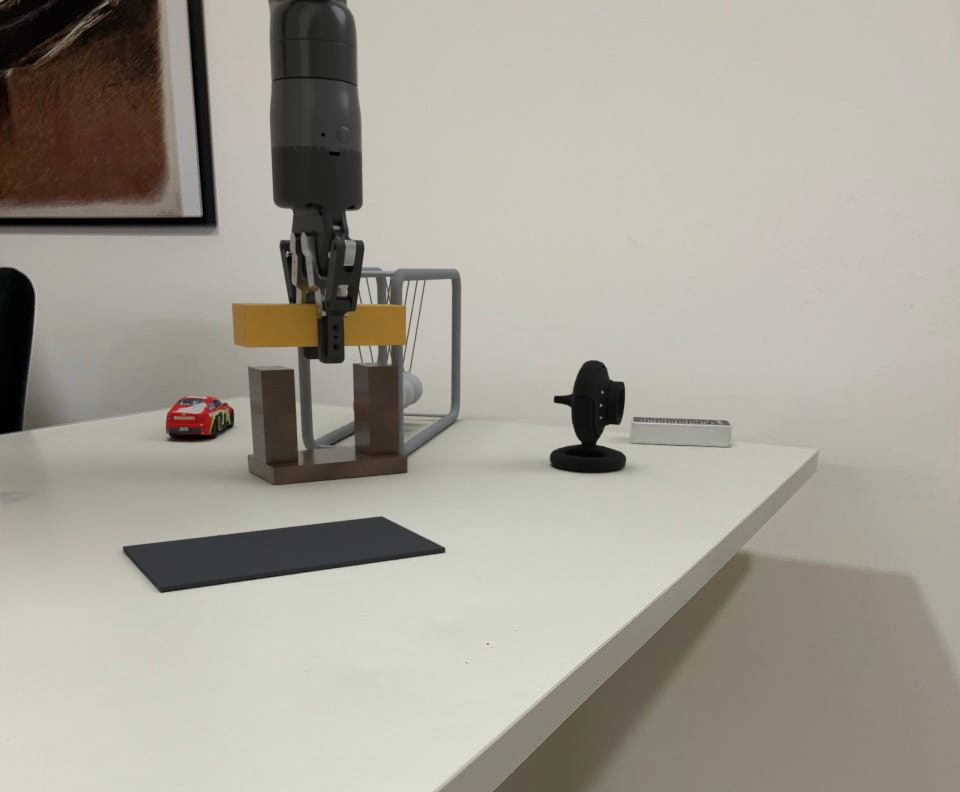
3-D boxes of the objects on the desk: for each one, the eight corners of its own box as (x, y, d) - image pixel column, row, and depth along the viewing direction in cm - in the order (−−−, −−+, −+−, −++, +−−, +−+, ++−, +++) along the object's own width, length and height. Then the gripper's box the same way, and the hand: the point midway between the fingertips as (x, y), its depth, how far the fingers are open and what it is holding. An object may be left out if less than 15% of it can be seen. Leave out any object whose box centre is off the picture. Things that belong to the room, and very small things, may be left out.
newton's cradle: (380, 415, 126) (378, 267, 120) (460, 418, 125) (462, 268, 118) (301, 455, 99) (292, 266, 92) (402, 461, 97) (400, 268, 91)
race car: (195, 423, 117) (192, 389, 116) (240, 424, 117) (238, 390, 116) (158, 440, 105) (154, 402, 104) (208, 442, 105) (205, 403, 104)
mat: (160, 592, 57) (160, 587, 57) (123, 550, 65) (122, 546, 65) (445, 551, 67) (445, 547, 66) (382, 519, 75) (382, 516, 74)
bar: (246, 347, 82) (244, 305, 81) (233, 344, 85) (231, 303, 84) (406, 345, 90) (406, 305, 89) (390, 342, 92) (389, 304, 91)
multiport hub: (629, 436, 114) (631, 416, 113) (726, 440, 112) (728, 420, 112) (630, 443, 109) (631, 422, 109) (730, 447, 108) (733, 425, 107)
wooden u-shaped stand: (274, 485, 85) (267, 372, 82) (248, 470, 91) (241, 364, 88) (407, 472, 92) (407, 367, 88) (375, 459, 97) (374, 360, 94)
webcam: (617, 475, 92) (625, 365, 88) (540, 469, 94) (544, 361, 91) (632, 461, 99) (640, 358, 95) (560, 455, 101) (565, 355, 98)
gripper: (245, 150, 86) (256, 355, 92) (305, 135, 74) (313, 370, 80) (326, 157, 89) (331, 353, 95) (394, 143, 78) (395, 367, 84)
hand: (323, 360), depth 88 cm, fingers closed on bar, 3 cm apart
